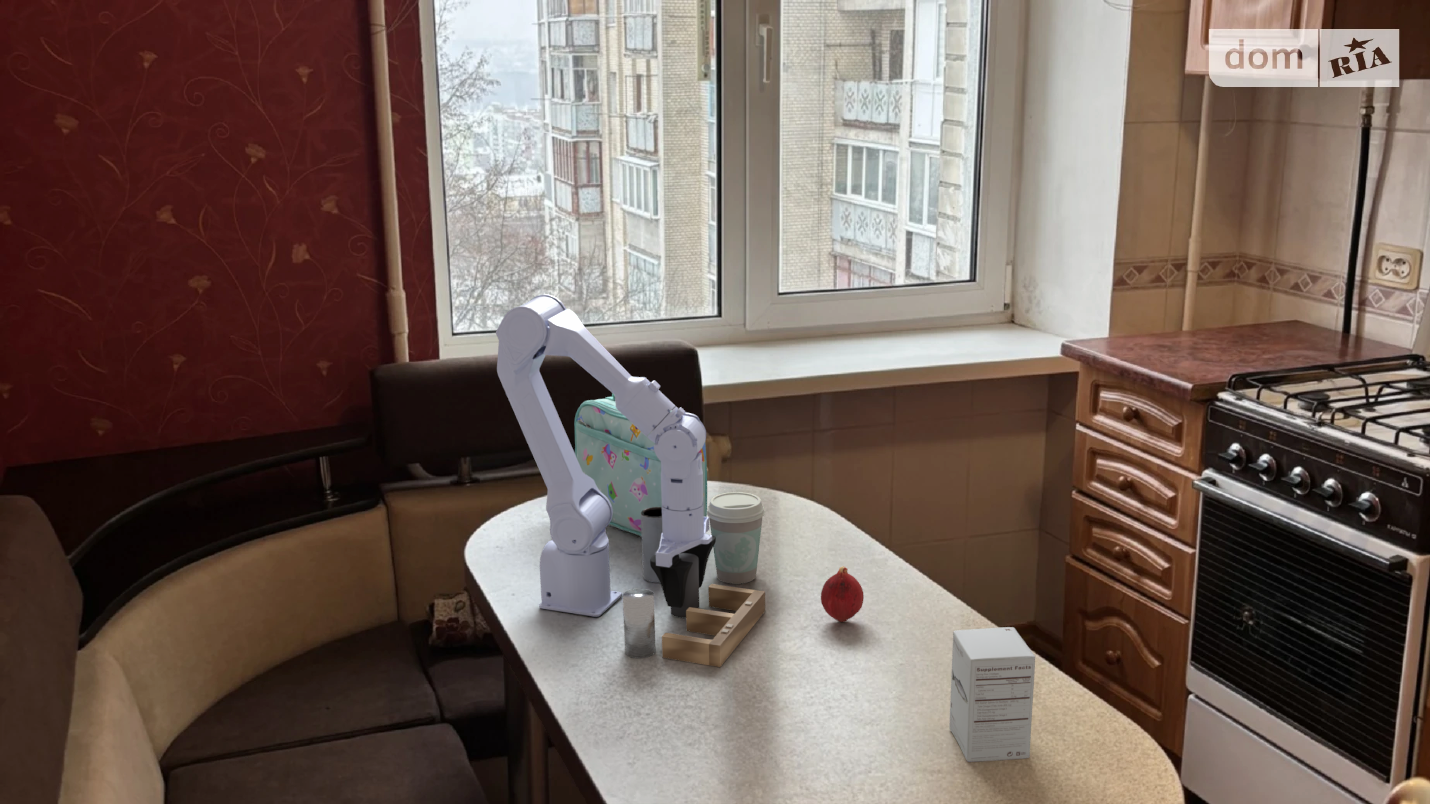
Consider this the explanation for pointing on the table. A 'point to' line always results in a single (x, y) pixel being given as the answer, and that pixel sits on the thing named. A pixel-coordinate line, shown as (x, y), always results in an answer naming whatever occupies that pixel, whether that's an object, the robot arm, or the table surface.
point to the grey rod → (639, 623)
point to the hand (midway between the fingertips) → (684, 595)
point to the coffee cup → (736, 535)
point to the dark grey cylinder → (689, 587)
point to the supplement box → (991, 694)
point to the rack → (716, 626)
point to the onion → (842, 596)
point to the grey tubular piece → (650, 539)
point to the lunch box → (621, 462)
